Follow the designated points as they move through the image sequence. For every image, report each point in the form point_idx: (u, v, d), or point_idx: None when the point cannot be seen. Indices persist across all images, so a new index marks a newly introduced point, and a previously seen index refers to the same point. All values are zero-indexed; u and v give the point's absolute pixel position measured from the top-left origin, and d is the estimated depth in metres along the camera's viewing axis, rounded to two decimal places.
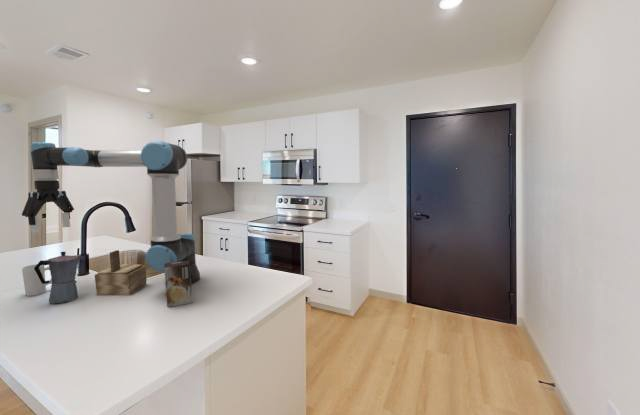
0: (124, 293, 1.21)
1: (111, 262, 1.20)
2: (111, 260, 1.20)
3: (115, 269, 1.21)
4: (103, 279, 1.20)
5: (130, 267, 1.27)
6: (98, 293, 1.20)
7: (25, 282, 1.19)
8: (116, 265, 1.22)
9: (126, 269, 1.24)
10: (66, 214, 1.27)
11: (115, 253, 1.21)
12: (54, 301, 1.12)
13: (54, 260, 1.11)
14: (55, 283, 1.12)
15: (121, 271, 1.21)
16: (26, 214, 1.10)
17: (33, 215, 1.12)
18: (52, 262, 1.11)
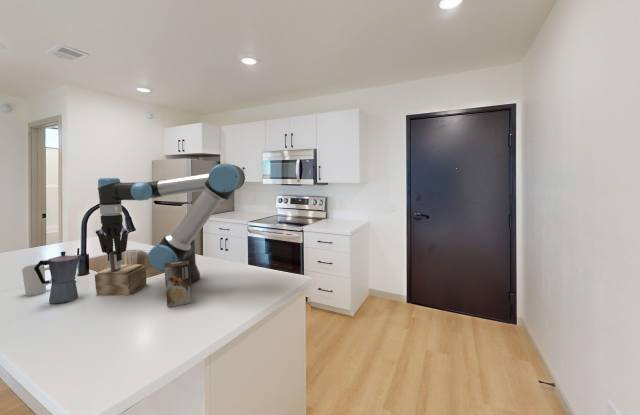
0: (124, 293, 1.21)
1: (111, 262, 1.20)
2: (111, 260, 1.20)
3: (115, 269, 1.21)
4: (103, 279, 1.20)
5: (130, 267, 1.27)
6: (98, 293, 1.20)
7: (25, 282, 1.19)
8: None
9: (126, 269, 1.24)
10: None
11: None
12: (54, 301, 1.12)
13: (54, 260, 1.11)
14: (55, 283, 1.12)
15: (121, 271, 1.21)
16: None
17: (107, 253, 1.20)
18: (52, 262, 1.11)
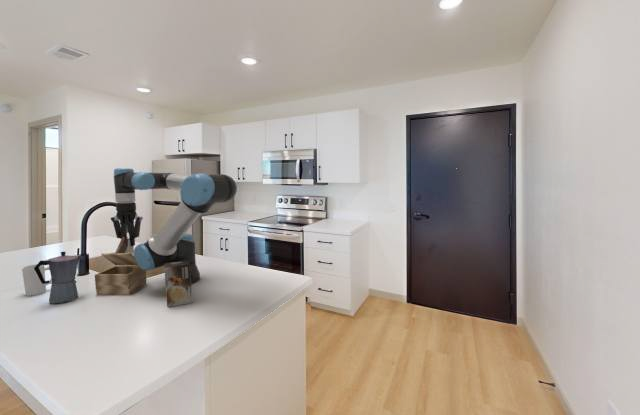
0: (124, 293, 1.21)
1: (119, 244, 1.25)
2: (120, 243, 1.25)
3: (119, 252, 1.24)
4: (103, 279, 1.20)
5: None
6: (98, 293, 1.20)
7: (25, 282, 1.19)
8: (122, 251, 1.25)
9: None
10: None
11: (126, 239, 1.29)
12: (54, 301, 1.12)
13: (54, 260, 1.11)
14: (55, 283, 1.12)
15: None
16: None
17: (121, 238, 1.29)
18: (52, 262, 1.11)
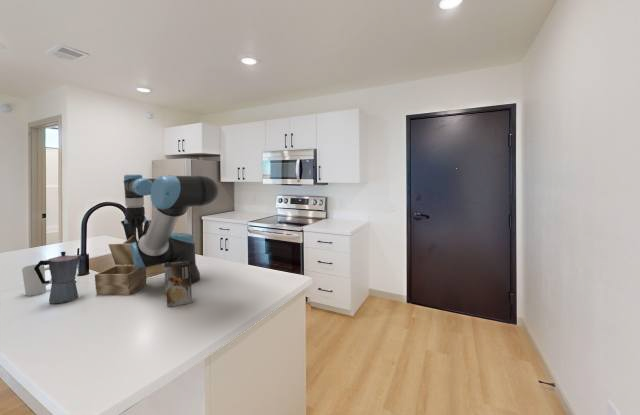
0: (124, 293, 1.21)
1: (128, 239, 1.31)
2: (129, 238, 1.32)
3: None
4: (103, 279, 1.20)
5: None
6: (98, 293, 1.20)
7: (25, 282, 1.19)
8: None
9: None
10: None
11: (135, 238, 1.35)
12: (54, 301, 1.12)
13: (54, 260, 1.11)
14: (55, 283, 1.12)
15: None
16: None
17: None
18: (52, 262, 1.11)
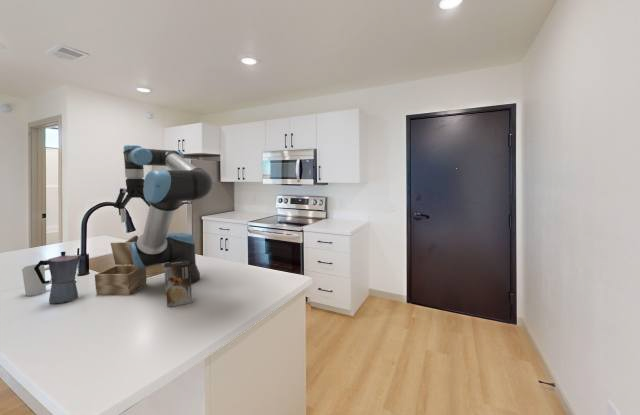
0: (124, 293, 1.21)
1: (130, 239, 1.32)
2: (131, 238, 1.33)
3: None
4: (103, 279, 1.20)
5: None
6: (98, 293, 1.20)
7: (25, 282, 1.19)
8: None
9: None
10: None
11: (137, 239, 1.36)
12: (54, 301, 1.12)
13: (54, 260, 1.11)
14: (55, 283, 1.12)
15: None
16: None
17: (118, 207, 1.35)
18: (52, 262, 1.11)
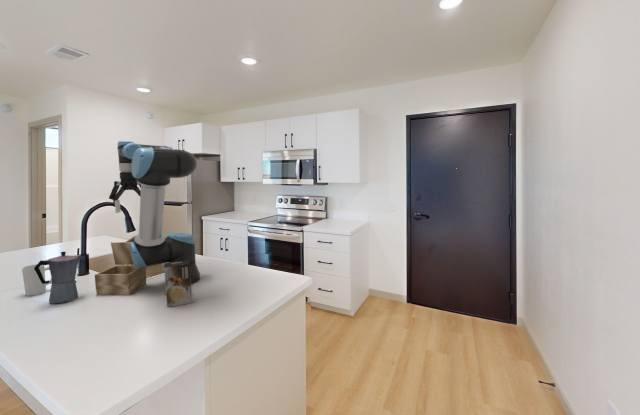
0: (124, 293, 1.21)
1: (130, 239, 1.32)
2: (132, 238, 1.33)
3: None
4: (103, 279, 1.20)
5: None
6: (98, 293, 1.20)
7: (25, 282, 1.19)
8: None
9: None
10: None
11: None
12: (54, 301, 1.12)
13: (54, 260, 1.11)
14: (55, 283, 1.12)
15: None
16: None
17: (113, 199, 1.46)
18: (52, 262, 1.11)
